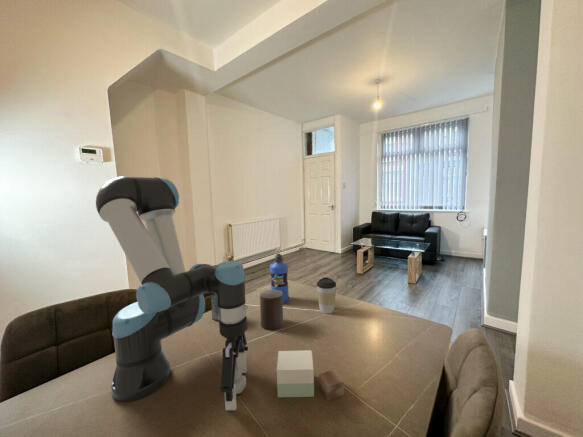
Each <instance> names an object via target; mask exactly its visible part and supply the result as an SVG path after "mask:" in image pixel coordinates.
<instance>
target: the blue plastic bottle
mask: <svg viewBox="0 0 583 437" xmlns="http://www.w3.org/2000/svg"><path fill="white" fill-rule="evenodd" d="M274 257H275V258H274V262H273V263H271V264H270V265H269V273H270V277H271V281H270V290H279V291H281V292H282V296H283V305H284V303H285V304H287V303H288V302H289V301H288V300H290V299H289V298H290V297H289V296H290V295H289V281H288V274H289V273H288V271H289V264H287V263H285V262H284V261H283V254H281V253H276V254H275V256H274ZM286 302H287V303H286Z"/></svg>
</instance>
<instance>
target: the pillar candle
mask: <svg viewBox="0 0 583 437" xmlns="http://www.w3.org/2000/svg"><path fill="white" fill-rule="evenodd" d="M259 301H260V303H259V306H260V315H259V316H260V326H261V328H263V329H264V330H269V331H274V330H278V329H280V328H282V327H283V326H284V304H283V296H282V292H281V291H279V290H271V289H265V290H263V291H261V292H260V293H259Z"/></svg>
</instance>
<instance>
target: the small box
mask: <svg viewBox="0 0 583 437" xmlns="http://www.w3.org/2000/svg"><path fill="white" fill-rule="evenodd" d="M210 302H211V303H210V304H211V319H212V320H213V321H216V322H218V323H219V318H218V299H217V295H213V296H211V297H210Z"/></svg>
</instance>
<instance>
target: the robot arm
mask: <svg viewBox="0 0 583 437" xmlns="http://www.w3.org/2000/svg"><path fill="white" fill-rule="evenodd" d="M179 200H180V195H179V191H178V189H177V187H176V185H175V184H174V182H173V181H171V180H170V179H167V178H161V177H155V176H154V177H145V176H144V177H141V176H139V177H138V176H117V177H114V178H112V179H110V180H107V181H105V183H104V184H103V185H102V186H101V187H100V188H99V190H98V192H97V194H96V198H95V208H96V211H97V213H98V215H99V217H100V218H101V220H102V221H104V222H106V223H108V225H109V226H110V228H111V231H112V232H113V234H114V235H115V237H116V238H115V239H116V240H117V241H118V244H119V246H120V247H121V249H122V250H123V252H124V254H125V256H126V258H127V259H128V262H129V263H130V265H131V267H132V269H133V271H134V273H135V275H136V277H137V279H138V280H139V283H140V284H141V285H139V286H138V287H137V289H136V294H135V298H136V302H133V303H131V304H129V305H127V306H125V307H123V308H122V309H120V310H119V311H118V312H116V314H115V316H114V317H113V319H112V334H111V335H112V337H113V344H114V352H115V353H114V354H115V362H116V366H115V370H114V374H113V377H112V381H111V385H110V388H111V395H112V397H113V398H114V400H117V401H120V402H131V401H132V402H133V401H136V400H138V399H142V398H144V397H147V396H149V395H150V394H152V393H154V392H155V391H156V390H158V389H160V388H161V387H162V386H163V385H165V382H166V381H167V380H168V379H169V377H170V374H171V368H170V366H171V365H170V361H169V360H168V359H167V357H166V355H165V353H164V350H163V349H162V348H163V347H162V340H164V339H166V338H168V337H171V336H172V335H173V334H176V333H178V332H180V331H182V330H184V329H186V328H188V327H191V326H192V325H193V324H195V323H197V322H198V321H200V320H201V319H202V318H203V316H204V314H205V312H206V301H205V300H206V299H205V296H204V294H206V293H208V294H212V295H214V296H216V295H217V299H218V318H219V322H218V328H219V334H220V336H222V337H223V338H225V339H226V340H225V343H224V346H225V347H223V349H222V350H221V351H222V366H221V383H220V384H221V385H220V386H219V389H220V393H221V394H222V393H223V394H224V405H225V406H224V407H225V411H237V394H236V389H235V385H234V378H235V368H236V367H237V368H238V367H239V368H240V369H241V373H242V374H247V354H246V352H247V351H248V350H249V346H247V344H248V341H247V338H246V332H247V329H248V320H247V319H248V318H247V310H248V309H249V307H248V305H246V300H247V299H246V286H245V285H246V284H245V282H246V281H245V280H246V275H245V271H244V270H245V269H244V265H243V263H242V262H240V261H236V260H234V261H231V260H230V261H223V262H220V263H218V264H217V265H211V264H208V263H196V264H195V265H193V266H191V268H189V270H186V268H185V265H184V264H185V263H184V260H183V257H182V252H181V248H180V242H179V239H178V235H177V231H176V228H175V222H174V219H173V216H174V214H175V213H176V208H177V207H178V206H179V203H180V201H179ZM144 223H145V224H144ZM166 383H167V382H166Z"/></svg>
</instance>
